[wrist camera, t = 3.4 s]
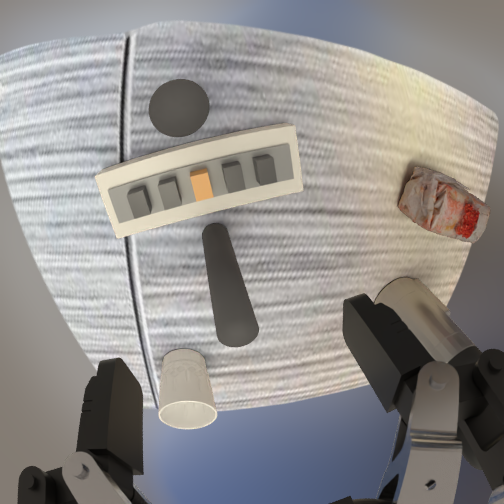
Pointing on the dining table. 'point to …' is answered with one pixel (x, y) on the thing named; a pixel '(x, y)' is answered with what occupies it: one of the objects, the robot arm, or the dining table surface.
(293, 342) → the dining table surface
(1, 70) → the dining table surface
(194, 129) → the dark grey post
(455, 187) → the food item
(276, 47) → the dining table surface
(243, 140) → the breaker panel
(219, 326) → the dark grey cylinder rod
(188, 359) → the white cup
